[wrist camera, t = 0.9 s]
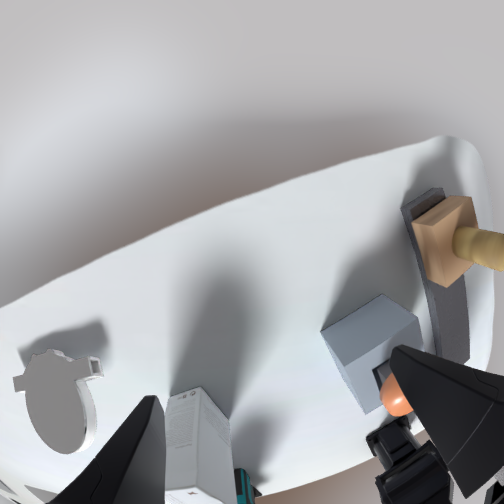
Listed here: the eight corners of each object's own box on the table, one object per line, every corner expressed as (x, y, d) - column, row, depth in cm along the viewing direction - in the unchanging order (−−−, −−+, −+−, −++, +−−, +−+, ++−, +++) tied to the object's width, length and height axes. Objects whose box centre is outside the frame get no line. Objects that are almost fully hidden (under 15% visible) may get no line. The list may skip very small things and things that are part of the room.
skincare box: (166, 396, 24) (143, 491, 12) (203, 383, 24) (194, 485, 12) (198, 431, 25) (192, 519, 14) (233, 420, 25) (239, 513, 14)
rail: (463, 353, 27) (469, 358, 26) (438, 375, 27) (444, 380, 26) (433, 187, 22) (442, 188, 21) (400, 208, 22) (409, 209, 21)
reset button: (414, 371, 19) (436, 392, 16) (374, 398, 19) (392, 424, 16) (407, 337, 19) (433, 358, 15) (362, 367, 19) (383, 394, 15)
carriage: (463, 249, 22) (521, 266, 14) (427, 279, 22) (486, 307, 14) (450, 195, 21) (513, 200, 13) (411, 222, 21) (478, 235, 13)
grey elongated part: (84, 330, 21) (81, 445, 13) (131, 364, 27) (141, 459, 19) (11, 357, 21) (3, 439, 13) (54, 384, 27) (53, 458, 19)
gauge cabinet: (399, 343, 25) (430, 370, 19) (343, 379, 25) (365, 414, 20) (384, 292, 24) (420, 315, 18) (320, 331, 24) (343, 366, 18)
